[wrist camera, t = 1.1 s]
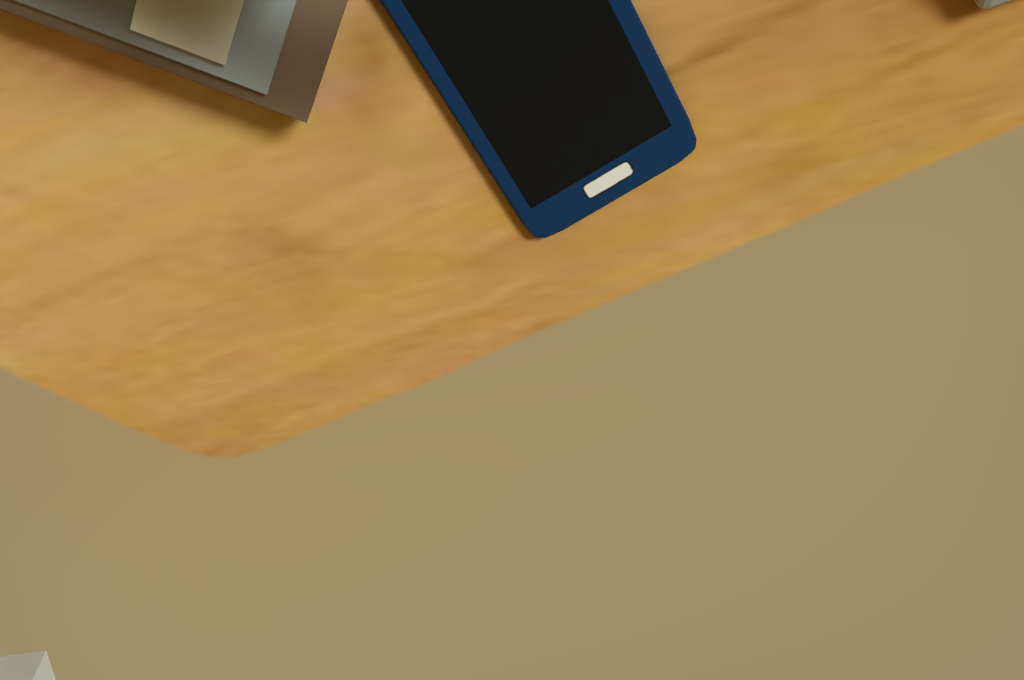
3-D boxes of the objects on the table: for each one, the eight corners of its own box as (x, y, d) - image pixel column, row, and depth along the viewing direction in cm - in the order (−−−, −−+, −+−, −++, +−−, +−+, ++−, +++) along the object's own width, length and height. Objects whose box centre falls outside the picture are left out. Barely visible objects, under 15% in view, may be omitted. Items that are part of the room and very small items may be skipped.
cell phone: (534, 239, 37) (537, 247, 37) (325, -89, 31) (324, -86, 30) (699, 143, 36) (705, 149, 36) (519, -222, 29) (522, -222, 29)
